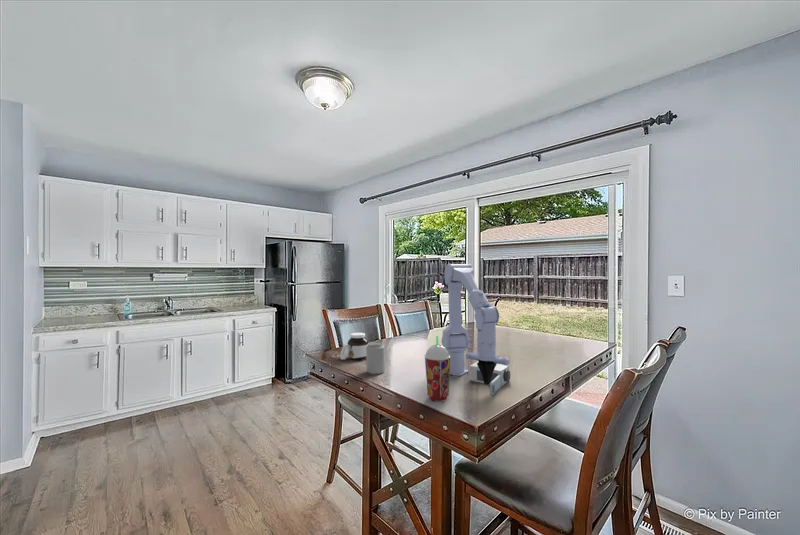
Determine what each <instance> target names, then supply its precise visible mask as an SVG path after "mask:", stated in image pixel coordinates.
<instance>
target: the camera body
mask: <svg viewBox="0 0 800 535" xmlns="http://www.w3.org/2000/svg"><path fill="white" fill-rule="evenodd" d="M478 362H479V361H478V360H476V362H474V363H472V364H470V365H469V381H470V382H471V381H472V382H476V383H482V384H484V380H483V377H482V374H481V371H480V369H479V367H478V366H477V363H478ZM499 374H500V375H501V379H502V386H501V387H503V386H504V385H505V384H507V383H508V382H510V380H511V371H510V365H508V366H506V365H503V364H497V365H496V367H495V369H494V371H493V373H492V377H491V381H490V383H491V382H492V381H493V380H494V379H495V378H496V377H497V376H498V375H499ZM501 387H500V388H501Z"/></svg>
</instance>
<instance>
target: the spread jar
mask: <svg viewBox="0 0 800 535" xmlns="http://www.w3.org/2000/svg"><path fill="white" fill-rule="evenodd" d="M368 343H369V341H368V339H367V338H366V333H364V332H352V333H350V338H349V339H348V341H347V344H344V345H343V346H342V348H341V350H340V360H343V361H345V360H346V359H347V358H349V359H350V360H352V361H356V360H358V361H364V360H366V347H367V346H368Z"/></svg>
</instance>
